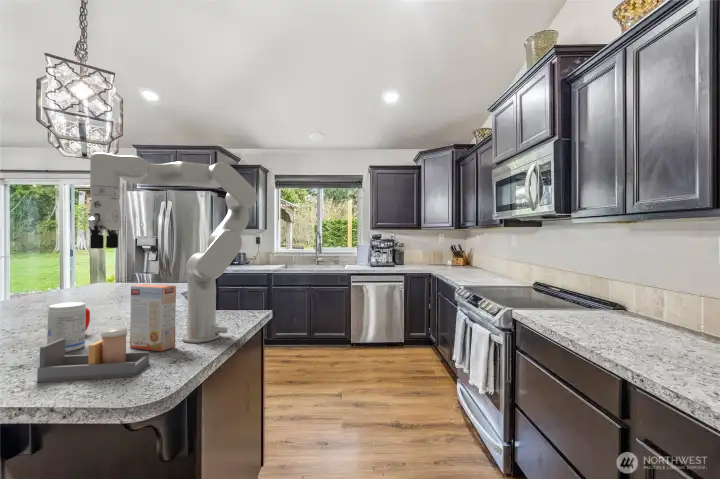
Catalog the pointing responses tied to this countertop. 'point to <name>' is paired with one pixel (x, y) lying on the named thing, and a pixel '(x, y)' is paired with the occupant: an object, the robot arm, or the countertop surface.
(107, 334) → the terracotta jar
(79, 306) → the supplement tub
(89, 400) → the countertop surface
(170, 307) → the cracker box
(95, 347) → the lane pusher
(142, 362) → the pusher lane
